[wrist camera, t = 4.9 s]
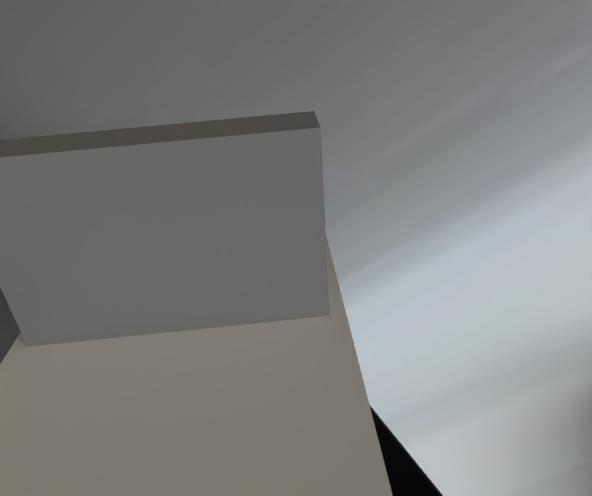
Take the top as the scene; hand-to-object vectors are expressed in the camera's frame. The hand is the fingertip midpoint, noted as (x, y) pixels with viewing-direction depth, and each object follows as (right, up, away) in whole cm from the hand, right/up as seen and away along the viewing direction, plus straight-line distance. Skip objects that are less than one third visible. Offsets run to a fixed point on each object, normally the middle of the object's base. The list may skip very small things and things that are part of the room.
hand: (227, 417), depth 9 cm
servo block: (0, +1, +1) cm, 2 cm away
